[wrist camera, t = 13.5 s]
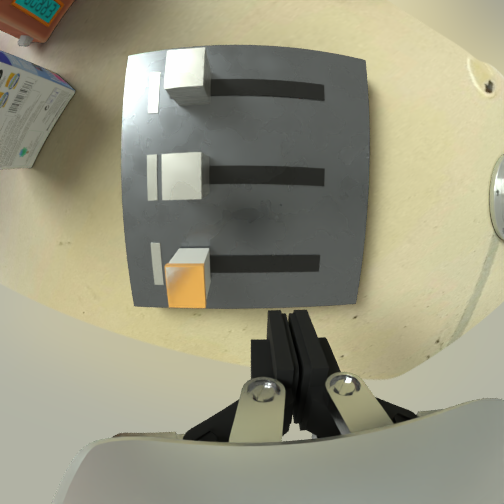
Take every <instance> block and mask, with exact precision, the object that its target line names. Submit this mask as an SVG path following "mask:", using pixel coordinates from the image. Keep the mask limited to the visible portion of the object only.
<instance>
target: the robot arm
mask: <svg viewBox="0 0 504 504" xmlns="http://www.w3.org/2000/svg"><path fill="white" fill-rule="evenodd" d="M490 213H491V219H492V223H493V226H494V229H495V231H496V233H497V235H498V236H499V237H500V238H501V239H503V240H504V154H503V155H502V156H501V157H500V158H499V159H498V161H497V163H496V165H495V167H494V170H493V174H492V178H491V184H490ZM292 415H293V419H294V423H296V424H297V423H299V426H300V430H307V431H309V432H311V433H312V439H308V440H297V441H283V442H282V436H283V435H284V434H286V433H287V432H288V431H289V426H290V424H291V421H292ZM52 504H504V400H502V399H497V398H485V399H484V398H483V399H477V400H472V401H469V402H465V403H461V404H458V405H455V406H453V407H449V408H446V409H440V410H431V411H421V412H418V413H417V414H416V415H415V414H414V413H413V412H411V411H409V410H407V409H404V408H402V407H399V406H396V405H393V404H391V403H389V402H386V401H384V400H381V399H379V398H376V397H374V395H373V394H372V392H371V391H370V390H369V389H368V387H367V385H366V384H365V383H364V381H363V380H362V379H361V378H360V377H359V376H357V375H355V374H352V373H349V372H341V371H340V369H339V367H338V364H337V362H336V359H335V357H334V355H333V352H332V350H331V348H330V345H329V343H328V341H327V339H326V338H325V337H323V338H318V337H317V334H316V332H315V329H314V327H313V324H312V322H311V319H310V317H309V314H308V312H307V310H294V312H293V313H289V319H288V320H287V316H286V314H282V313H281V310H271V311H268V322H267V340H251V380H249V381H247V382H246V383H245V384H244V386H243V388H242V391H241V395H240V399H239V400H237V401H236V402H234V403H233V404H231V405H230V406H228V407H226V408H225V409H223V410H222V411H220V412H218V413H217V414H215V415H214V416H212V417H210V418H209V419H207V420H205V421H203V422H202V423H200V424H198V425H197V426H195V427H193V428H191V429H190V430H189V431H187V432H186V434H177V433H176V432H159V433H119V434H117V435H115V436H113V437H112V438H106V439H101V440H97V441H94V442H92V443H89V444H88V445H86V446H85V447H83V448H82V449H81V450H80V451H79V453H78V454H77V455H76V456H75V458H74V459H73V460H72V462H71V464H70V465H69V467H68V469H67V470H66V472H65V474H64V476H63V478H62V480H61V483H60V484H59V487H58V489H57V491H56V493H55V496H54V498H53V501H52Z"/></svg>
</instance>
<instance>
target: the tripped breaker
mask: <svg viewBox="0 0 504 504" xmlns="http://www.w3.org/2000/svg"><path fill="white" fill-rule="evenodd" d="M165 276H166V286H167V295H168V303H169V307H175V308H206V300H207V296H208V291H209V287H210V282H211V278H210V253H209V248H179V249H178V251H177V252H176V253H175V255H174V256H173V257H172V259H171V260H170V261H169V263H167V264H166V265H165Z"/></svg>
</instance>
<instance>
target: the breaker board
mask: <svg viewBox="0 0 504 504" xmlns="http://www.w3.org/2000/svg"><path fill="white" fill-rule="evenodd" d="M369 160H370V128H369V100H368V84H367V72H366V61H365V60H363V59H358V58H354V57H349V56H344V55H339V54H334V53H328V52H322V51H315V50H308V49H299V48H290V47H278V46H261V45H213V46H196V47H184V48H175V49H166V50H159V51H153V52H146V53H141V54H135V55H130V56H128V62H127V70H126V78H125V88H124V100H123V114H122V138H121V180H122V205H123V220H124V232H125V243H126V252H127V261H128V269H129V276H130V283H131V290H132V296H133V302H134V306H138V307H162V308H175V307H169V303H168V295H167V286H166V276H165V265H166V264H167V263H169V261H170V260H171V259H172V257H173V256H174V255H175V253H176V252H177V251H178V249H179V248H209V253H210V278H211V282H210V287H209V291H208V296H207V300H206V308H210V309H237V308H286V307H311V306H330V305H346V304H356V300H357V294H358V287H359V281H360V274H361V266H362V258H363V250H364V241H365V231H366V220H367V206H368V189H369Z"/></svg>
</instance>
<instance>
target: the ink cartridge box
mask: <svg viewBox="0 0 504 504" xmlns="http://www.w3.org/2000/svg"><path fill="white" fill-rule="evenodd" d="M74 94H75V90H74V89H73V88H72V87H71V86H70V85H69V84H68V83H66V82H65V81H64V80H63V79H62V78H61V77H60V76H59V75H57V74H56V73H55V72H52V71H50V70H47V69H45V68H42V67H40V66H38V65H35V64H33V63H31V62H28V61H26V60H23V59H21V58H19V57H16V56H14V55H11V54H8V53H6V52H3V51H0V170H1V169H17V168H31V167H32V165H33V163H34V161H35V159H36V157H37V155H38V153H39V151H40V149H41V147H42V145H43V144H44V142H45V140H46V138H47V136H48V135H49V133H50V131H51V129H52V128H53V126H54V124H55V123H56V121H57V119H58V118H59V116H60V115H61V113H62V112H63V110H64V108H65V107H66V105H67V104H68V102H69V101H70V99H71V98H72V96H73V95H74Z"/></svg>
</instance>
